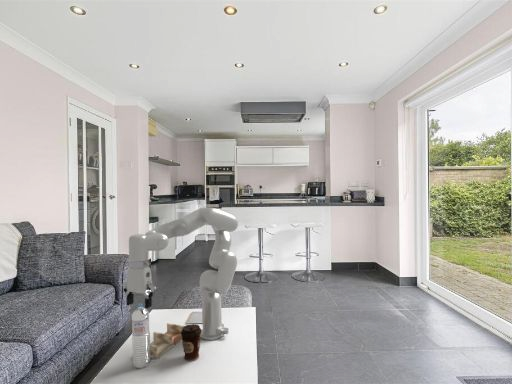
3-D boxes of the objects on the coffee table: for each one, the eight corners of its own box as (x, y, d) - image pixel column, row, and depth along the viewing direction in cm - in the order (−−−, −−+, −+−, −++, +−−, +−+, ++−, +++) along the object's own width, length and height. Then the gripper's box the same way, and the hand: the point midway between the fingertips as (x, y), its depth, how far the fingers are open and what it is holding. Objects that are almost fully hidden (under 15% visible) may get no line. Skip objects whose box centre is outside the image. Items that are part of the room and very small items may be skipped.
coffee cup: (191, 365, 118) (190, 333, 118) (177, 360, 122) (176, 329, 122) (205, 355, 125) (205, 325, 125) (191, 350, 129) (191, 321, 129)
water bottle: (154, 361, 122) (152, 301, 122) (142, 370, 115) (141, 308, 115) (140, 358, 124) (139, 300, 124) (129, 367, 117) (127, 306, 118)
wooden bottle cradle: (186, 336, 142) (185, 326, 142) (157, 359, 123) (157, 347, 123) (168, 333, 146) (167, 323, 146) (138, 354, 127) (137, 342, 127)
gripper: (161, 263, 120) (162, 305, 120) (129, 261, 126) (130, 300, 126) (148, 268, 113) (149, 312, 113) (115, 265, 119) (116, 306, 119)
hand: (139, 305), depth 119 cm, fingers open, 9 cm apart
